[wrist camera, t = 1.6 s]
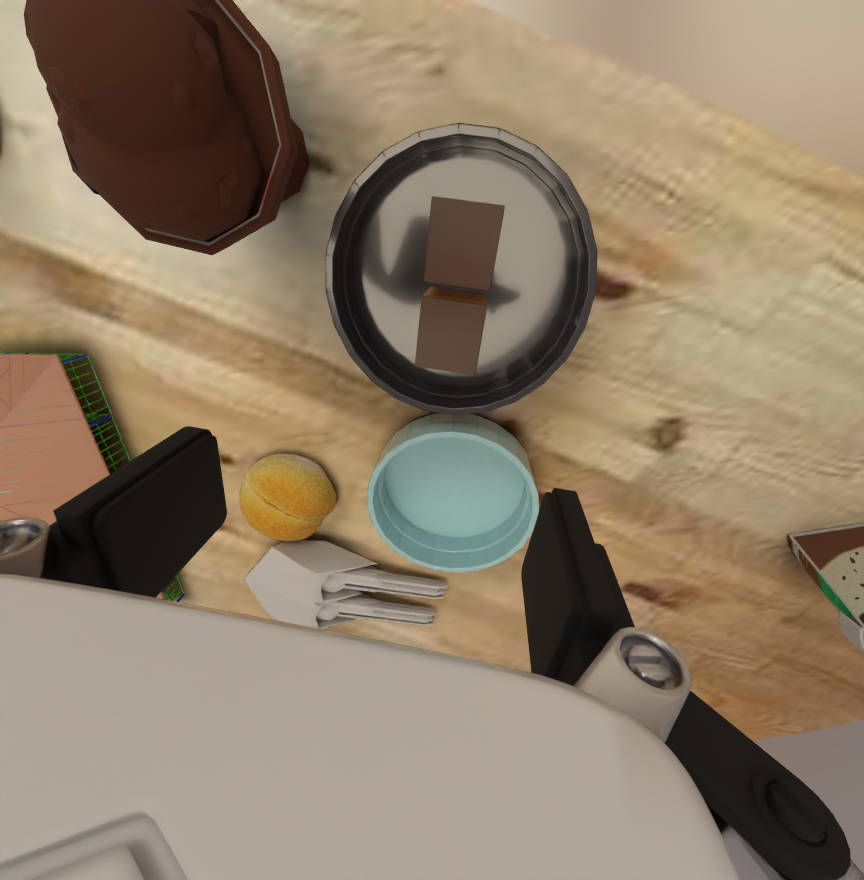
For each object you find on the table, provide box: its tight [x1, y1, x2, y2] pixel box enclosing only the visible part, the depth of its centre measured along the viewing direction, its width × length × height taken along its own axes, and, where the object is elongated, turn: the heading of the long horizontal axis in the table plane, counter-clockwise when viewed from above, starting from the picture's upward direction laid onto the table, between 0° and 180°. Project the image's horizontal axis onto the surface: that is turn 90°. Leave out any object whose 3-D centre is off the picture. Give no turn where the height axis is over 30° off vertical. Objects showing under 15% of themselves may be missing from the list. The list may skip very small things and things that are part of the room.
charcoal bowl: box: [326, 123, 597, 415], centre depth 27 cm, size 17×17×4 cm
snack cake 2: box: [415, 287, 487, 375], centre depth 27 cm, size 4×4×5 cm
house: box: [0, 352, 184, 602], centre depth 39 cm, size 23×33×8 cm
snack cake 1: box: [423, 196, 505, 291], centre depth 25 cm, size 4×4×5 cm
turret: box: [244, 540, 448, 629], centre depth 42 cm, size 10×20×5 cm, turn 76°
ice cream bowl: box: [24, 0, 309, 255], centre depth 20 cm, size 11×11×15 cm
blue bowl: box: [367, 413, 539, 572], centre depth 34 cm, size 14×14×4 cm
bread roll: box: [240, 454, 336, 542], centre depth 37 cm, size 8×9×4 cm
